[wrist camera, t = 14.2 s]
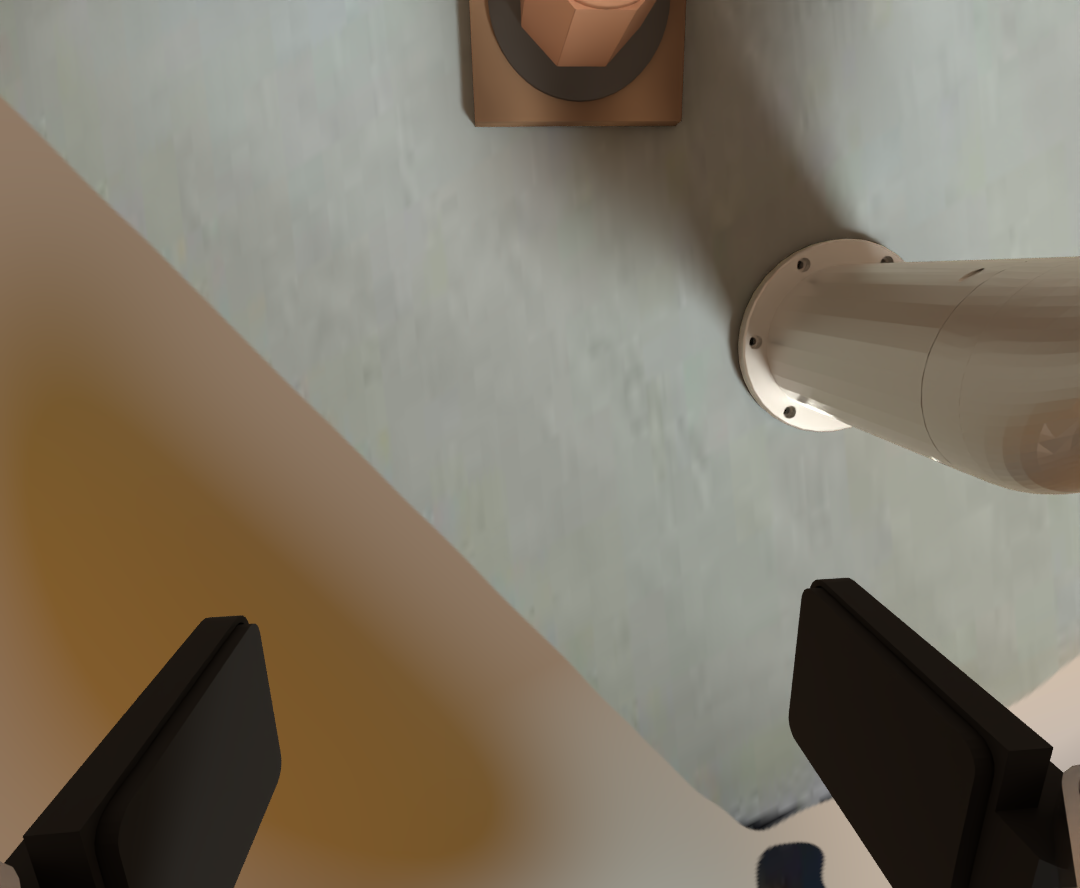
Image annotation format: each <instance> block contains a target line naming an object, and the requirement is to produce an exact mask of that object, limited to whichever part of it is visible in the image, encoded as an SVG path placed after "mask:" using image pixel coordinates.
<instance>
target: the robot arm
mask: <svg viewBox="0 0 1080 888" xmlns="http://www.w3.org/2000/svg"><path fill="white" fill-rule="evenodd" d="M798 261H799V263H800V267H799V268H798V269H797V263H798ZM880 262H881V263H880ZM751 338H753V343H752V344H750V345H749V341H750V339H751ZM738 352H739V364H740V368H741V372H742V375H743V379H744V381H745V383H746V385H747V387H748V389H749V391H750V393H751V395H752V396H753V398H754V399H755V400H756V401H757V403H758V404H759V405H760V406H761V408H763V409H764V410H765V411H766V412H768V413H769V414H770V415H771V416H773V417H774V418H776V419H778V420H780V421H781V422H783V423H785V424H787V425H790V426H793V427H795V428H798V429H801V430H807V431H813V432H833V431H838V430H843V429H847V428H851V427H855V428H857V429H860V430H862V431H865V432H867V433H870V434H872V435H874V436H877V437H879V438H882V439H884V440H886V441H889V442H891V443H894V444H896V445H898V446H901V447H903V448H906V449H908V450H910V451H913V452H915V453H918V454H920V455H923V456H925V457H927V458H930V459H932V460H935V461H937V462H939V463H942V464H944V465H947V466H949V467H952V468H954V469H957V470H959V471H961V472H964V473H967V474H969V475H972V476H974V477H977V478H979V479H982V480H984V481H987V482H989V483H992V484H995V485H998V486H1001V487H1004V488H1007V489H1011V490H1016V491H1021V492H1026V493H1033V494H1072V493H1080V256H1078V257H1051V258H1021V259H991V260H960V261H930V262H905V261H904V260H902V259H901V258H900V257H899V256H898V255H897V254H896V253H894V252H892V251H891V250H889V249H887V248H886V247H884V246H882V245H879V244H876V243H873V242H870V241H867V240H858V239H837V240H829V241H825V242H820V243H816V244H812V245H810V246H808V247H805V248H803V249H801V250H799V251H796V252H795V253H793V254H792V255H790V256H789V257H787V258H786V259H784V260H783V261H781V262H780V263H779V264H778V265H777V266H776V267H775V268H774V269H773V270H772V271H771V272H770V273H769V274H768V275H766V277H765V278H764V279H763V281H762V282H761V283H760V285H759V286H758V288H757V289H756V290H755V292H754V293H753V295H752V297H751V299H750V301H749V303H748V306H747V308H746V310H745V313H744V316H743V320H742V323H741V326H740V333H739V342H738ZM785 408H787V410H786V411H785V412H784V410H785ZM783 412H784V413H783ZM789 725H790V729H791V732H792V735H793V737H794V739H795V741H796V742H797V744H798V745H799V747H800V748H801V750H802V751H803V753H804V754H805V756H806V757H807V759H808V760H809V762H810V763H811V765H812V766H813V768H814V769H815V771H816V772H817V774H818V775H819V777H820V778H821V780H822V781H823V783H824V784H825V786H826V787H827V789H828V791H829V792H830V794H831V795H832V797H833V798H834V800H835V801H836V803H837V804H838V805H839V807H840V809H841V810H842V812H843V813H844V815H845V816H846V818H847V819H848V821H849V822H850V824H851V825H852V827H853V828H854V830H855V831H856V833H857V834H858V836H859V837H860V839H861V841H862V842H863V844H864V845H865V847H866V848H867V849H868V851H869V852H870V854H871V856H872V857H873V859H874V860H875V862H876V863H877V865H878V866H879V868H880V869H881V871H882V872H883V874H884V875H885V877H886V878H887V880H888V881H889V883H890V884H891V886H892V888H1080V765H1075V766H1072V767H1070V768H1069V769H1068V770H1066V771H1065V772H1064V773H1063V772H1062V771H1061V770H1060V769H1058V768H1057V767H1056V766H1055V765H1054V764H1053V763H1052V762H1050V758H1051V755H1052V750H1053V747H1052V746H1051V745H1050V744H1049V743H1047V742H1046V741H1045V740H1044V739H1043V738H1042V737H1040V736H1039V735H1038V734H1037V733H1036V732H1034V731H1033V730H1032V729H1031V728H1030V727H1028V726H1027V725H1026V724H1025V723H1024V722H1022V721H1021V720H1020V719H1019V718H1018V717H1016V716H1015V715H1014V714H1013V713H1012V712H1010V711H1009V710H1008V709H1007V708H1006V707H1004V706H1003V705H1002V704H1001V703H1000V702H998V701H997V700H996V699H995V698H994V697H992V696H991V695H990V694H989V693H988V692H986V691H985V690H984V689H983V688H982V687H980V686H979V685H978V684H977V683H976V682H974V681H973V680H972V679H971V678H970V677H968V676H967V675H966V674H965V673H964V672H962V671H961V670H960V669H959V668H958V667H957V666H955V665H954V664H953V663H952V662H951V661H949V660H948V659H947V658H946V657H945V656H943V655H942V654H941V653H940V652H939V651H937V650H936V649H935V648H934V647H933V646H931V645H930V644H929V643H928V642H927V641H925V640H924V639H923V638H922V637H921V636H919V635H918V634H917V633H916V632H915V631H913V630H912V629H911V628H910V627H909V626H907V625H906V624H905V623H904V622H903V621H901V620H900V619H899V618H898V617H897V616H895V615H894V614H893V613H892V612H891V611H889V610H888V609H887V608H886V607H885V606H883V605H882V604H881V603H880V602H879V601H877V600H876V599H875V598H874V597H873V596H872V595H870V594H869V593H868V592H867V591H866V590H864V589H863V588H862V587H861V586H860V585H858V584H857V583H856V582H855V581H853V580H852V579H850V578H836V579H820V580H815V581H814V582H813V583H812V585H811V587H810V588H809V589H805V590H804V592H803V594H802V599H801V608H800V617H799V626H798V635H797V644H796V653H795V662H794V672H793V681H792V690H791V699H790V708H789ZM280 771H281V754H280V747H279V742H278V735H277V729H276V724H275V718H274V712H273V706H272V700H271V695H270V688H269V683H268V677H267V671H266V665H265V659H264V654H263V647H262V642H261V636H260V631H259V628H258V626H257V625H256V624H249V623H248V621H247V619H246V617H244V616H226V617H212V618H211V617H210V618H205V619H204V620H203V621H202V622H201V623H200V624H199V625H198V626H197V627H196V629H195V630H194V631H193V632H192V633H191V635H190V636H189V637H188V638H187V639H186V641H185V642H184V643H183V644H182V645H181V647H180V648H179V649H178V650H177V652H176V653H175V654H174V655H173V656H172V658H171V659H170V660H169V661H168V662H167V664H166V665H165V666H164V667H163V668H162V670H161V671H160V672H159V673H158V675H157V676H156V677H155V678H154V679H153V680H152V682H151V683H150V684H149V685H148V686H147V688H146V689H145V690H144V691H143V692H142V694H141V695H140V696H139V697H138V698H137V700H136V701H135V702H134V703H133V705H132V706H131V707H130V708H129V709H128V711H127V712H126V713H125V714H124V715H123V716H122V718H121V719H120V720H119V721H118V723H117V724H116V725H115V726H114V727H113V729H112V730H111V731H110V732H109V733H108V735H107V736H106V737H105V738H104V739H103V740H102V742H101V743H100V744H99V746H98V747H97V748H96V749H95V750H94V751H93V753H92V754H91V755H90V756H89V757H88V759H87V760H86V761H85V762H84V763H83V765H82V766H81V767H80V768H79V769H78V771H77V772H76V773H75V774H74V775H73V777H72V778H71V779H70V780H69V781H68V783H67V784H66V785H65V786H64V787H63V789H62V790H61V791H60V792H59V793H58V795H57V796H56V797H55V798H54V800H53V801H52V802H51V803H50V804H49V805H48V807H47V808H46V809H45V810H44V811H43V813H42V814H41V815H40V816H39V817H38V819H37V820H36V821H35V822H34V824H33V825H32V826H31V827H30V828H29V829H28V831H27V832H26V833H25V834H24V835H23V838H24V840H23V841H22V842H21V843H20V845H19V846H18V847H17V848H16V850H15V851H14V852H13V853H12V854H11V856H10V857H9V858H8V859H7V860H6V862H5V863H2V862H0V888H234V886H235V883H236V881H237V879H238V876H239V874H240V871H241V869H242V867H243V864H244V862H245V859H246V857H247V855H248V852H249V850H250V847H251V845H252V843H253V840H254V838H255V835H256V833H257V831H258V828H259V826H260V823H261V821H262V819H263V816H264V814H265V811H266V809H267V806H268V804H269V802H270V799H271V797H272V795H273V792H274V790H275V787H276V785H277V783H278V779H279V776H280Z"/></svg>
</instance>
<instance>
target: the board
mask: <svg viewBox="0 0 1080 888" xmlns="http://www.w3.org/2000/svg"><path fill="white" fill-rule="evenodd" d="M469 5H470V27H471V48H472V69H473V91H474V112H475V127H515V126H676V125H677V124H678V123H679V122H681V119H682V93H683V67H684V41H685V14H686V0H656V2H655V3H654V5H653V7H652V8H651V10H650V12H649V13H648V15H647V17H646V18H645V20H644V22H643V23H642V25H641V26H640V28H639V29H638V30H637V31H636V32H635V34H634V35H633V36H632V37H631V38H630V39H629V40H628V41H627V43H626V44H625V45H624V46H623V47H622V48H621V49H620V51H619V52H618V53H617V54H616V55H615V56H614V57H613V59H612V60H611V61H610V62H609V63H608V64H607V65H606V66H605V67H596V66H556V65H555V64H554V63H553V61H552V60H551V59H550V58H549V57H548V56H547V55H546V54H545V52H544V51H543V50H542V49H541V48H540V47H539V46H538V45H537V43H536V42H535V41H534V40H533V39H532V38H531V37H530V36H529V34H528V33H527V32H526V31H525V30H524V29H523V28H522V27H521V3H520V0H469Z"/></svg>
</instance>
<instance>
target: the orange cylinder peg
mask: <svg viewBox="0 0 1080 888" xmlns="http://www.w3.org/2000/svg"><path fill="white" fill-rule="evenodd" d="M655 2H656V0H520V3H521V27H522V28H523V29H524V30H525V31H526V32H527V33H528V34H529V36H530V37H531V38H532V39H533V40H534V41H535V42H536V43H537V45H538V46H539V47H540V48H541V49H542V50H543V51H544V52H545V54H546V55H547V56H548V57H549V58H550V59H551V60H552V61H553V63H554V64H555V65H556V66H596V67H605V66H606V65H607V64H608V63H609V62H610V61H611V60H612V59H613V57H614V56H615V55H616V54H617V53H618V52H619V51H620V49H621V48H622V47H623V46H624V45H625V44H626V43H627V41H628V40H629V39H630V38H631V37H632V36H633V35H634V34H635V32H636V31H637V30H638V29H639V28H640V26H641V25H642V23H643V22H644V20H645V18H646V17H647V15H648V13H649V12H650V10H651V8H652V7H653V5H654V3H655Z"/></svg>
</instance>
